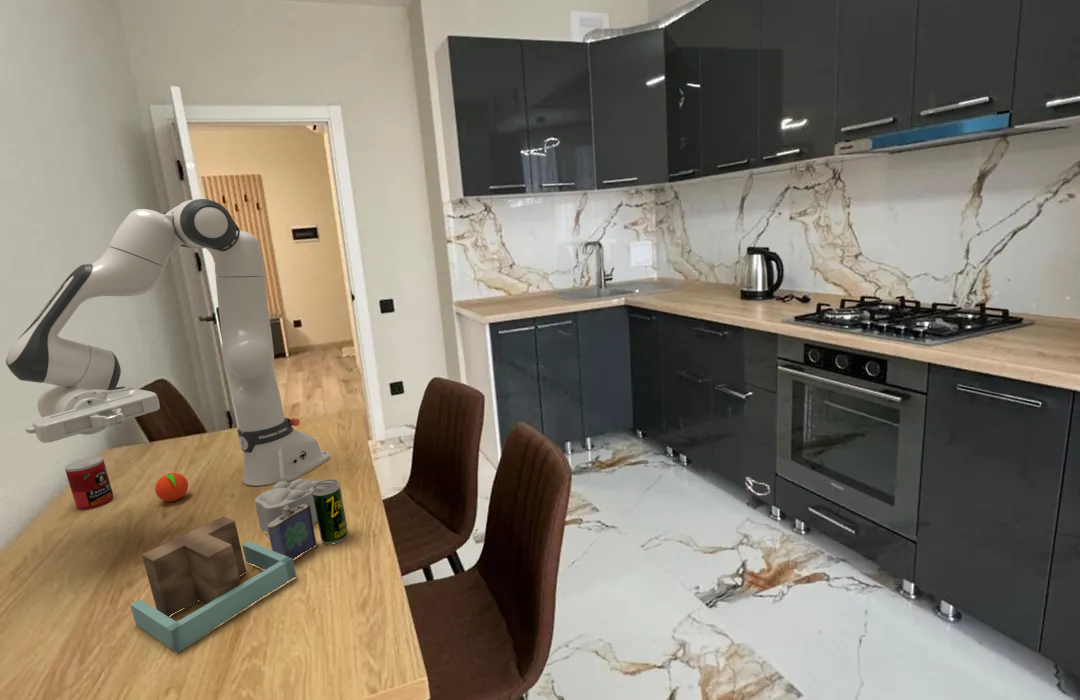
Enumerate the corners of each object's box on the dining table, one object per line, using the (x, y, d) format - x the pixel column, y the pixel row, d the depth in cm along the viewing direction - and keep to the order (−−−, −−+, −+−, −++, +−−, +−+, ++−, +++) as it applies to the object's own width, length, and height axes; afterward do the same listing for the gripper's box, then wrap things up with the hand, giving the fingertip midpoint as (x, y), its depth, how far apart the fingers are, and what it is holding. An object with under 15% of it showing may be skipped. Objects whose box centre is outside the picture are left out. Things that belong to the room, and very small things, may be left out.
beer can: (315, 544, 118) (305, 490, 115) (332, 530, 123) (322, 478, 120) (338, 546, 116) (327, 491, 113) (354, 532, 121) (344, 479, 118)
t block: (235, 567, 112) (223, 516, 109) (271, 585, 105) (259, 530, 103) (157, 611, 101) (141, 554, 98) (191, 633, 94) (176, 573, 92)
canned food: (94, 510, 142) (82, 469, 140) (68, 510, 144) (56, 469, 142) (121, 495, 150) (111, 456, 147) (96, 495, 151) (85, 456, 149)
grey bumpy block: (256, 527, 127) (248, 491, 125) (312, 503, 136) (305, 469, 134) (276, 542, 120) (268, 504, 118) (334, 515, 129) (327, 480, 127)
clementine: (196, 499, 144) (189, 472, 142) (164, 510, 139) (157, 483, 137) (186, 490, 149) (179, 465, 148) (155, 501, 144) (148, 475, 143)
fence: (253, 559, 114) (249, 541, 113) (296, 578, 107) (292, 558, 106) (136, 625, 97) (130, 604, 96) (177, 653, 90) (171, 631, 89)
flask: (281, 570, 110) (270, 518, 107) (271, 566, 111) (260, 516, 109) (320, 544, 118) (310, 496, 115) (310, 541, 119) (300, 494, 117)
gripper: (17, 413, 109) (44, 422, 102) (137, 383, 126) (168, 389, 118) (27, 445, 111) (54, 456, 103) (144, 410, 127) (175, 418, 120)
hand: (116, 420), depth 111 cm, fingers closed
